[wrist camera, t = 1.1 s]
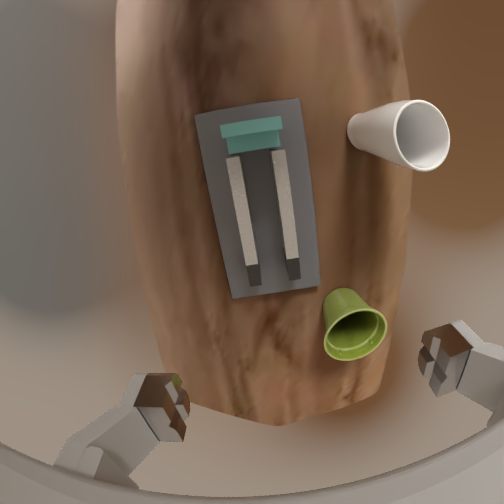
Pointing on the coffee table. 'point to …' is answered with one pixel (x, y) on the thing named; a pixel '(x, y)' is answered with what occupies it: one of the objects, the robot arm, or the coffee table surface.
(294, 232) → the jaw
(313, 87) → the coffee table surface
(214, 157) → the plate
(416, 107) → the white cup
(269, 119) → the collar
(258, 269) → the jaw
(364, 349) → the plant pot
